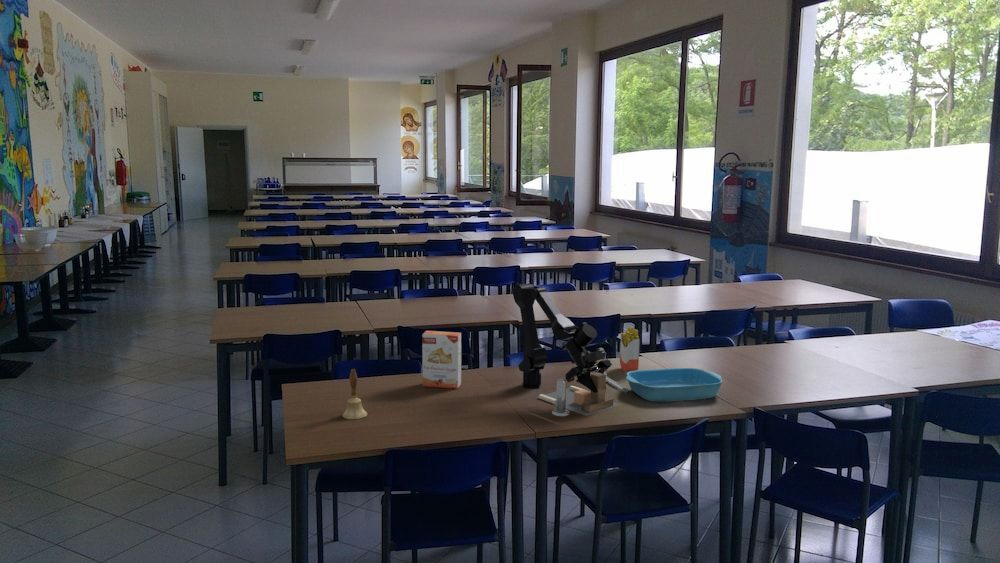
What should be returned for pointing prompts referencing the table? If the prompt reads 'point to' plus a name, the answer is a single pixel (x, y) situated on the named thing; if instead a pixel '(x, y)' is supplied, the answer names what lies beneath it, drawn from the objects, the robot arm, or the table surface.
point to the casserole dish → (674, 384)
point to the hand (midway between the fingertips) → (600, 391)
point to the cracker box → (441, 359)
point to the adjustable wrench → (615, 384)
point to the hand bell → (354, 401)
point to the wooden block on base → (597, 395)
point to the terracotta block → (581, 396)
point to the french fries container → (629, 350)
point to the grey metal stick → (561, 399)
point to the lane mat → (570, 401)
